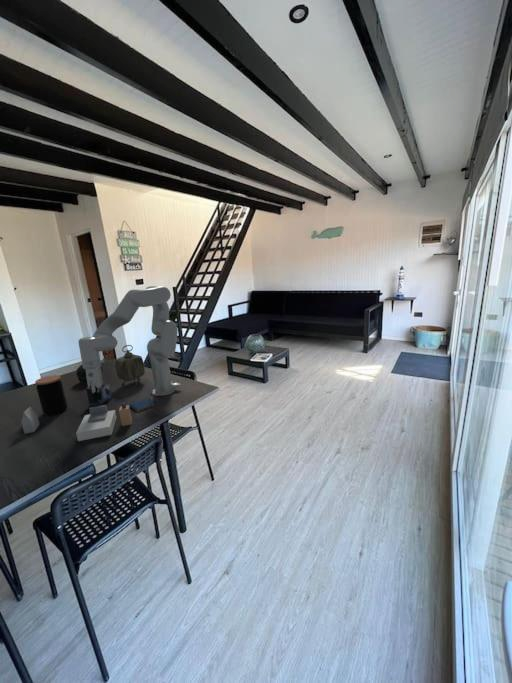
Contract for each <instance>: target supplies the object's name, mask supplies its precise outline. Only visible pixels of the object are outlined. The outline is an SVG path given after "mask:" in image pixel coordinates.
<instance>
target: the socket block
mask: <svg viewBox="0 0 512 683" xmlns="http://www.w3.org/2000/svg"><path fill="white" fill-rule="evenodd" d="M107 411H108V413H107V416H106V418H105V419H104V420H99V421H93V422H88V419H89V417H90V415H91V414H90V413H89V414H85V415H84V416H83V419H82V421H81V423H79V424H80V425H79V426H78V428H77V431H76V433H75V434H76V438H77V442H82V441H85V440H86V441H87V440H92V439H96V438H101V437H106V436H112V435H113V431H114V428H115V424H116V420H117V412H116V410H115V409H112V410H107Z"/></svg>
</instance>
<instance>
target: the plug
mask: <svg viewBox="0 0 512 683" xmlns="http://www.w3.org/2000/svg"><path fill="white" fill-rule="evenodd" d="M126 404H127V403H126V402H122V403H121V406H119V409H118V413H119V418H120V423H121V426H122V427H126V426H129V425H132V422H133V419H132V412H131V409H130V408H131V407H130V406H129V405H130V404H127V405H126Z"/></svg>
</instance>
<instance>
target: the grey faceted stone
mask: <svg viewBox="0 0 512 683" xmlns="http://www.w3.org/2000/svg"><path fill="white" fill-rule="evenodd" d="M40 425H41V424H40V420H39V417H38V414H37V412H36V411H35V409H33V408H32V407H31V406H29V407H28V408H26V409H25V411H23V413H22V419H21V426H22V429H23V433H24V434H25V435H26V434H30V433H34V432H36V430H37V429H38V428H39V426H40Z"/></svg>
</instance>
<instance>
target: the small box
mask: <svg viewBox="0 0 512 683" xmlns="http://www.w3.org/2000/svg"><path fill="white" fill-rule="evenodd" d="M85 389H86V394H87V399H88V404H89V407H97V406H102V405H105V404H106V403H107V402H108V401H111V400H112V399H113V396H112V391H111V385H110V381H107V380H103V384H102V385H101V387H100V391H101V395H102V399H101V400H98V401H94V398H93V392H92V388H91V389H89V388H88V386H87V387H86V388H85Z"/></svg>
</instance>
